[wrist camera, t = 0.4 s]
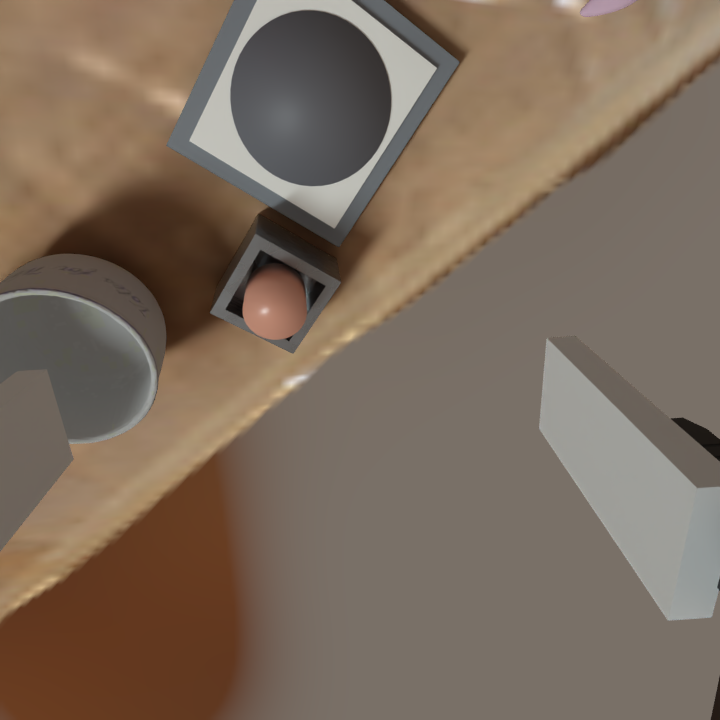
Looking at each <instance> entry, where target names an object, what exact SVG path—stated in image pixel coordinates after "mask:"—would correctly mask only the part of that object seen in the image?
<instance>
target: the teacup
mask: <svg viewBox="0 0 720 720" xmlns="http://www.w3.org/2000/svg"><path fill="white" fill-rule="evenodd" d="M165 348H166V326H165V321H164V317H163V314H162V311H161V309H160V307H159V305H158V303H157V301H156V299H155V298H154V296H153V294H152V293H151V292H150V291H149V290H148V289H147V287H146V286H145V285H144V284H143V283H142V282H141V281H140V280H139V279H138V278H136V277H135V276H134V275H132V274H131V273H130V272H128V271H127V270H125V269H123V268H122V267H120V266H118V265H116V264H114V263H111V262H109V261H106V260H103V259H101V258H97V257H93V256H88V255H81V254H56V255H50V256H45V257H42V258H39V259H36V260H33V261H31V262H28V263H27V264H25V265H23V266H21V267H19V268H18V269H17V270H15V271H14V272H13V273H11V274H10V275H9V276H7V277H6V278H5V279H4V280H3V281H2V282H1V283H0V384H1V383H2V382H4V381H5V380H6V379H7V378H9V377H10V376H11V375H13V374H14V373H15V372H17V371H26V370H42V369H47V371H48V375H49V378H50V381H51V385H52V388H53V392H54V395H55V398H56V402H57V405H58V408H59V412H60V415H61V418H62V422H63V425H64V429H65V432H66V435H67V439H68V442H69V444H80V443H93V442H98V441H103V440H107V439H110V438H113V437H115V436H118V435H120V434H122V433H124V432H126V431H128V430H129V429H131V428H133V427H134V426H135V425H136V424H138V423H139V422H140V421H141V420H142V419H143V418H144V417H145V416H146V415H147V413H148V411H149V410H150V408H151V406H152V404H153V402H154V400H155V396H156V393H157V389H158V378H159V375H160V371H161V368H162V363H163V359H164V354H165Z"/></svg>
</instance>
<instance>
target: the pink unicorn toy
mask: <svg viewBox="0 0 720 720" xmlns="http://www.w3.org/2000/svg"><path fill="white" fill-rule="evenodd" d="M635 1H637V0H590V1H589V2H588V3H587V4H586V5H585V6H584V7H583V8H582V9H581V11H580V15H582V16H584V17H591V16H598V15H603V14H607V13H611V12H614V11H617V10H620V9H623V8H625V7H627V6H629V5H631V4H632V3H634V2H635Z"/></svg>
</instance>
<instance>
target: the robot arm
mask: <svg viewBox="0 0 720 720" xmlns="http://www.w3.org/2000/svg"><path fill="white" fill-rule="evenodd" d="M539 429H540V431H541V432H542V434H543V435H544V437H545V438H546V439H547V441H548V443H549V444H550V446H551V447H552V449H553V450H554V452H555V453H556V455H557V456H558V458H559V459H560V461H561V462H562V463H563V465H564V467H565V468H566V469H567V471H568V472H569V474H570V475H571V477H572V478H573V480H574V481H575V483H576V484H577V486H578V487H579V489H580V490H581V492H582V493H583V495H584V496H585V498H586V499H587V500H588V502H589V503H590V505H591V507H592V508H593V510H594V511H595V512H596V514H597V516H598V517H599V518H600V520H601V521H602V523H603V525H604V526H605V527H606V529H607V530H608V532H609V533H610V535H611V536H612V538H613V539H614V541H615V542H616V544H617V545H618V547H619V548H620V550H621V551H622V553H623V554H624V556H625V557H626V559H627V560H628V562H629V563H630V565H631V566H632V568H633V569H634V571H635V572H636V574H637V575H638V576H639V578H640V580H641V581H642V583H643V584H644V585H645V587H646V588H647V590H648V591H649V593H650V594H651V596H652V597H653V599H654V600H655V602H656V603H657V605H658V606H659V608H660V609H661V611H662V612H663V614H664V615H665V617H666V618H667V620H681V619H695V618H709V617H712V614H713V611H714V607H715V603H716V599H717V595H718V592H719V591H720V439H719V438H717V437H716V436H715V435H714V434H712V433H711V432H710V431H709V430H707V429H706V428H704V427H701V426H699V425H697V424H694V423H693V422H691V421H689V420H686V419H684V418H671V419H670V418H669V417H668V416H667V415H666V414H664V413H663V412H662V411H661V410H660V409H659V408H658V407H656V406H655V405H654V404H653V403H651V401H649V400H648V399H647V398H646V397H645V396H644V395H643V394H642V393H640V392H639V391H638V390H637V389H636V388H635V387H633V386H632V385H631V384H630V383H629V382H628V381H627V380H625V379H624V378H623V377H622V376H621V375H620V374H619V373H617V372H616V371H615V370H614V369H613V368H611V367H610V366H609V365H608V364H607V363H606V362H605V361H604V360H602V359H601V358H600V357H599V356H598V355H597V354H596V353H594V352H593V351H592V350H591V349H590V348H589V347H588V346H586V345H585V344H584V343H583V342H582V341H581V340H580V339H578V338H577V337H576V336H566V337H551V338H547V341H546V352H545V364H544V376H543V389H542V400H541V413H540V425H539ZM72 461H73V456H72V452H71V449H70V445H69V442H68V439H67V435H66V432H65V429H64V425H63V422H62V418H61V415H60V412H59V408H58V405H57V402H56V398H55V395H54V392H53V388H52V385H51V381H50V378H49V375H48V371H47V369H42V370H26V371H17V372H15V373H14V374H13V375H11V376H10V377H9V378H7V379H6V380H5V381H4V382H2V383H1V384H0V551H1V550H2V549H3V547H4V546H5V545H6V544H7V542H8V541H9V540H10V539H11V537H12V536H13V535H14V534H15V532H16V531H17V530H18V528H19V527H20V526H21V525H22V523H23V522H24V521H25V520H26V518H27V517H28V516H29V515H30V513H31V512H32V511H33V510H34V508H35V507H36V506H37V505H38V503H39V502H40V501H41V500H42V498H43V497H44V496H45V495H46V493H47V492H48V491H49V489H50V488H51V487H52V486H53V484H54V483H55V482H56V481H57V479H58V478H59V477H60V476H61V474H62V473H63V472H64V471H65V469H66V468H67V467H68V466H69V464H70V463H71V462H72ZM711 720H720V677H719V682H718V687H717V692H716V697H715V702H714V707H713V711H712V716H711Z"/></svg>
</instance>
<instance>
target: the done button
mask: <svg viewBox="0 0 720 720" xmlns="http://www.w3.org/2000/svg"><path fill="white" fill-rule="evenodd" d="M306 316H307V305H306V291H305V284H304V282H303V279H302V278H301V276H300V275H299V274H298V273H297V272H296V271H295V270H294V269H293V268H291V267H289V266H287V265H284V264H279V263H271V264H266V265H263V266H261V267H259V268H257V269H256V270H255V271H253V273H252V274H251V275H250V276H249V278H248V280H247V283H246V289H245V296H244V302H243V317H244V320H245V322H246V324H247V326H248V327H249V328H250V329H251V330H252V331H253V332H254V333H255V334H257V335H259V336H261V337H263V338H266V339H271V340H280V339H285V338H288V337H290V336H292V335H294V334H295V333H297V332H298V331H299V330H300V329H301V328H302V326H303V325H304V323H305V320H306Z"/></svg>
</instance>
